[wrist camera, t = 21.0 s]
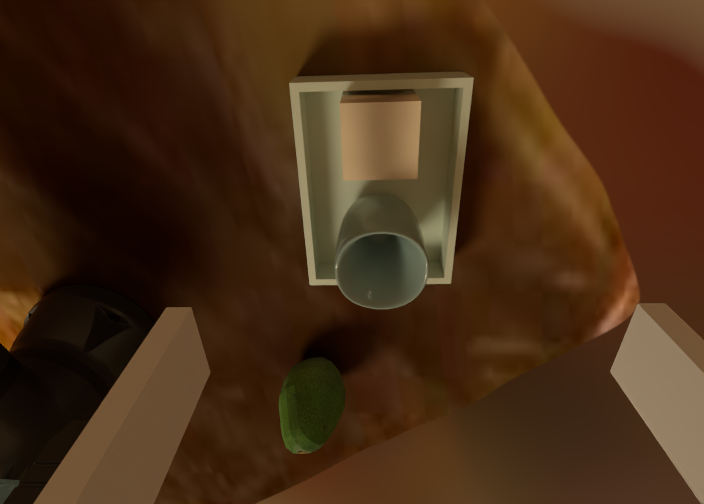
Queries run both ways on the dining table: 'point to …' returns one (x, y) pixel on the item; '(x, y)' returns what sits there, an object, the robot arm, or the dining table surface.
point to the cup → (380, 253)
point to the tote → (419, 194)
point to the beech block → (380, 134)
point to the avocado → (310, 404)
